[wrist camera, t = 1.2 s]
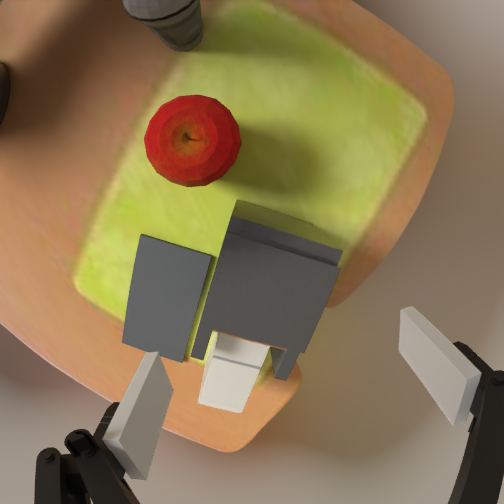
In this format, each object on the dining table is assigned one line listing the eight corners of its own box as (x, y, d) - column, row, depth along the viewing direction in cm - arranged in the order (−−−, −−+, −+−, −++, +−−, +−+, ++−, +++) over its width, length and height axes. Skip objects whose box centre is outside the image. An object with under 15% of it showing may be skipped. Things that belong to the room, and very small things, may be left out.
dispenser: (206, 301, 38) (188, 362, 26) (236, 199, 35) (230, 217, 22) (275, 320, 39) (287, 386, 26) (312, 223, 36) (346, 254, 23)
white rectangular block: (207, 355, 41) (197, 403, 31) (236, 262, 37) (232, 295, 28) (242, 364, 41) (241, 413, 32) (275, 274, 38) (285, 309, 28)
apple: (153, 153, 34) (112, 147, 22) (199, 97, 32) (177, 65, 21) (210, 197, 35) (192, 211, 24) (257, 141, 34) (261, 127, 22)
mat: (123, 340, 40) (122, 342, 39) (141, 233, 36) (140, 234, 36) (183, 360, 41) (182, 362, 40) (211, 255, 37) (211, 256, 36)
